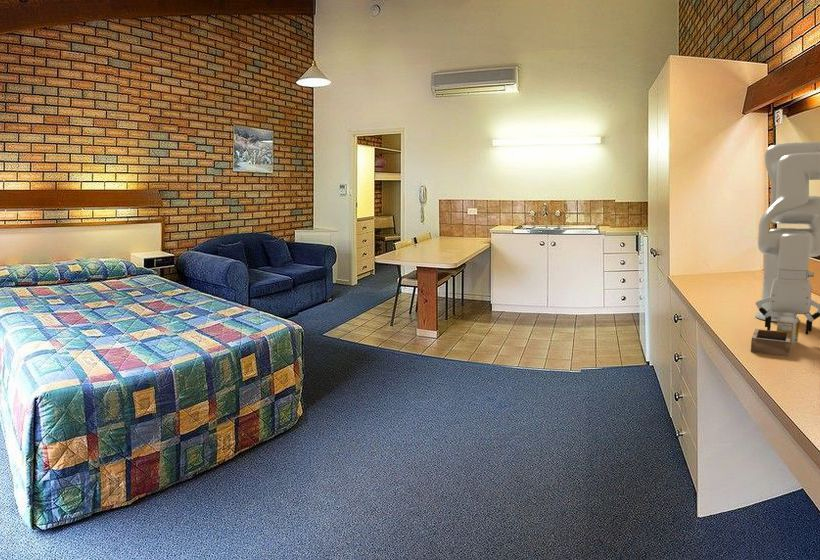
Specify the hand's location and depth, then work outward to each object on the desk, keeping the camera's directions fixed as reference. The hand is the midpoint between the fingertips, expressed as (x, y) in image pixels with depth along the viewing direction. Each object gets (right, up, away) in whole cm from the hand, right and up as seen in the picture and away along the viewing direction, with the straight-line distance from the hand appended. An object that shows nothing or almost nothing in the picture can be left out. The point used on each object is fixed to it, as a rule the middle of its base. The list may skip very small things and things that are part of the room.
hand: (787, 331), depth 167 cm
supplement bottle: (0, -3, +1) cm, 3 cm away
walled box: (-9, -4, -6) cm, 12 cm away
